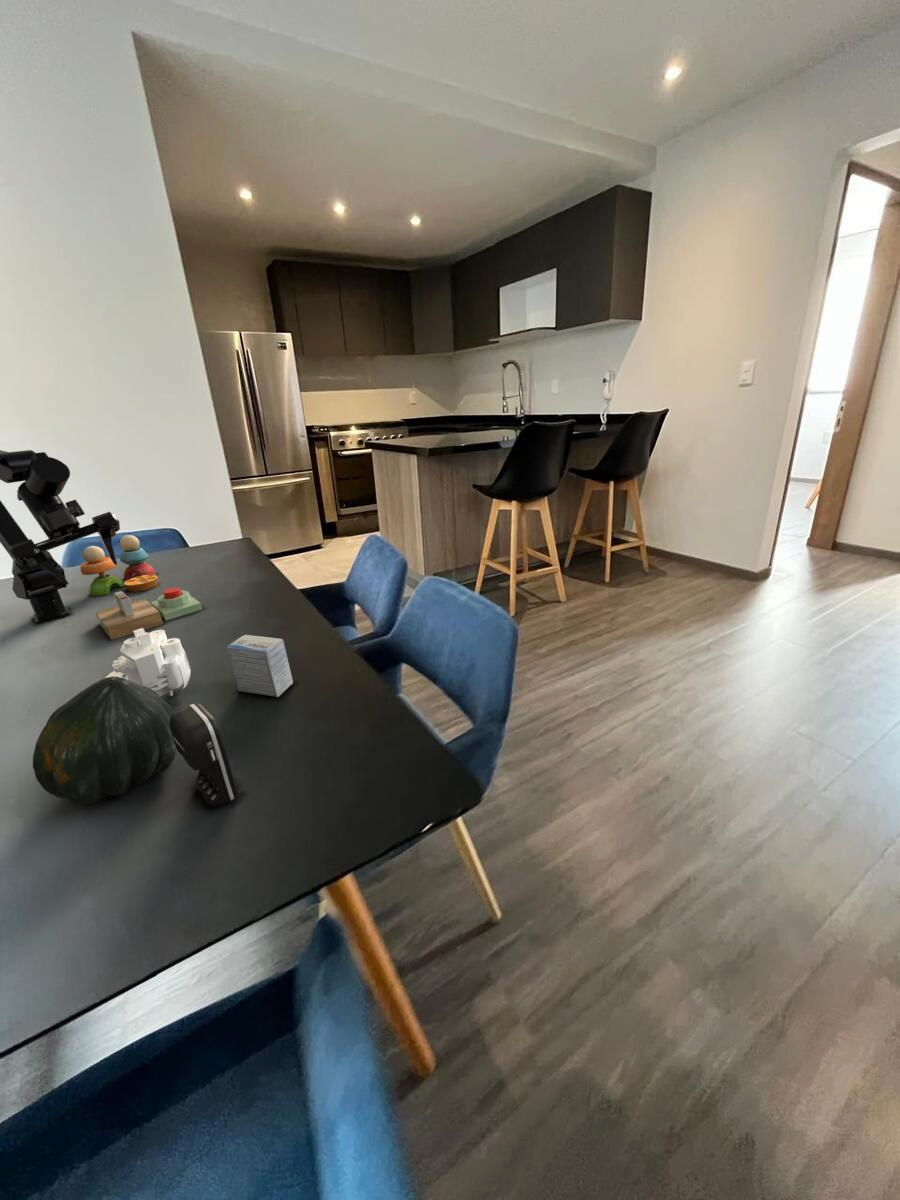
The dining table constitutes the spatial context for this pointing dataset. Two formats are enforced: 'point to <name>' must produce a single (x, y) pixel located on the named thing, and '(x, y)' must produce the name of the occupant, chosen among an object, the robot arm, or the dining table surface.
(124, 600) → the grey block
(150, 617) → the block
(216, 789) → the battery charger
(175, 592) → the button
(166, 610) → the box
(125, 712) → the squash
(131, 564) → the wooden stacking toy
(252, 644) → the medicine box
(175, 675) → the mechanical part
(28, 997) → the dining table surface
